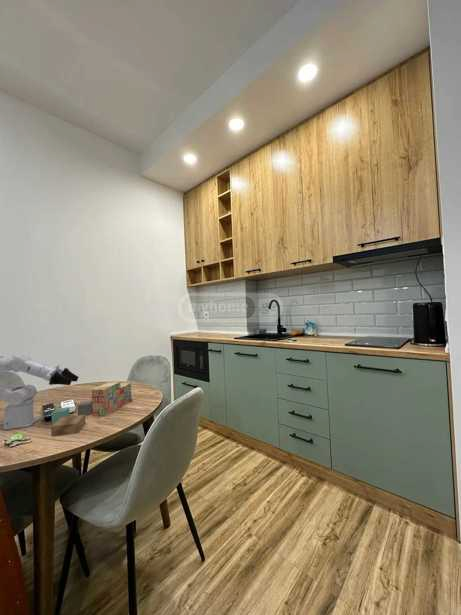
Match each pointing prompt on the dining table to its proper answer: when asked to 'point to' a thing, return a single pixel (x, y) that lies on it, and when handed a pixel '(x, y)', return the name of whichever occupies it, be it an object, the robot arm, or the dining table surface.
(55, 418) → the teal cube
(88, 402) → the charcoal cube
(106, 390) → the stack of blocks
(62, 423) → the walnut block
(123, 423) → the dining table surface
